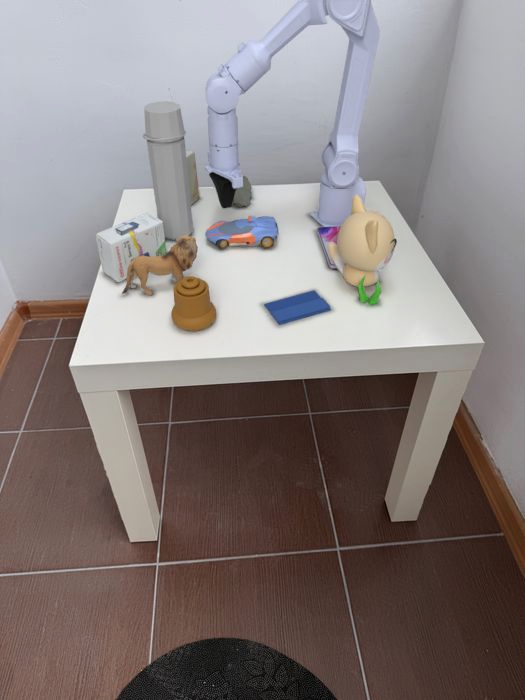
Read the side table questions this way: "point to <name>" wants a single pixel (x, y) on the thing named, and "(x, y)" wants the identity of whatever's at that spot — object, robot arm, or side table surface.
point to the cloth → (297, 307)
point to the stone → (243, 194)
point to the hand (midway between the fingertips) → (226, 206)
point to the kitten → (363, 248)
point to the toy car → (244, 232)
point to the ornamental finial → (192, 304)
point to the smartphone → (328, 241)
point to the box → (192, 176)
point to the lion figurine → (163, 263)
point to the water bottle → (169, 167)
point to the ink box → (130, 244)
